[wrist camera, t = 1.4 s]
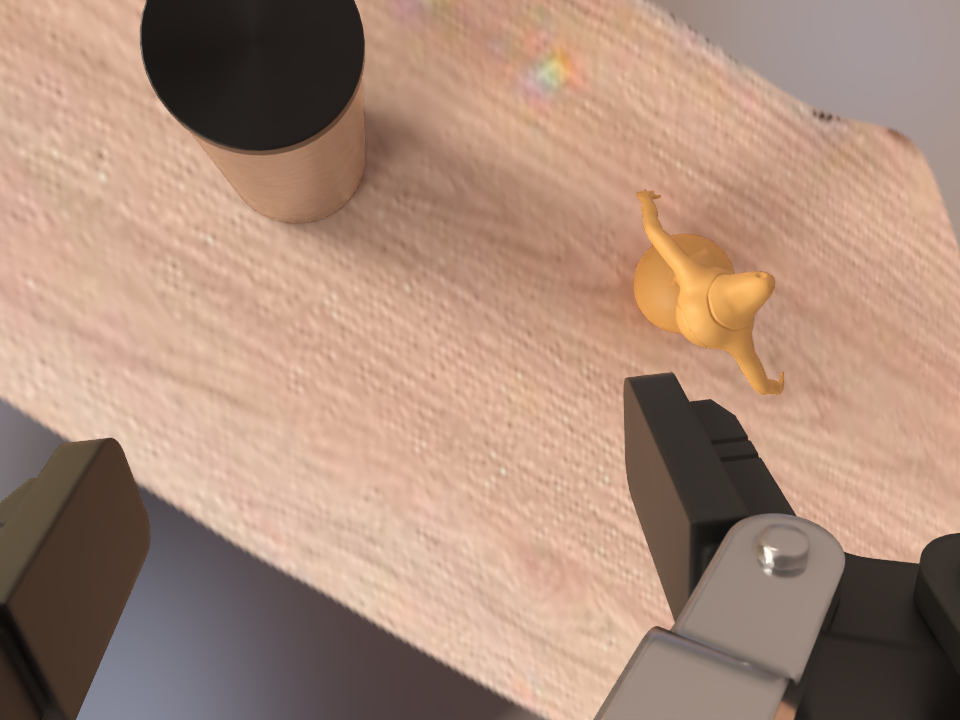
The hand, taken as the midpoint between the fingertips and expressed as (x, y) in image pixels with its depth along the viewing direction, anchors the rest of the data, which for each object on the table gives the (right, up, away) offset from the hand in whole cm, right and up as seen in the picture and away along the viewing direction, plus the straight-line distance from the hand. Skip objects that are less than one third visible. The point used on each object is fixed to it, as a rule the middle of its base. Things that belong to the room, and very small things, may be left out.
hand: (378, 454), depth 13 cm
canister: (-6, +10, +20) cm, 23 cm away
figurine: (+9, +4, +22) cm, 24 cm away
